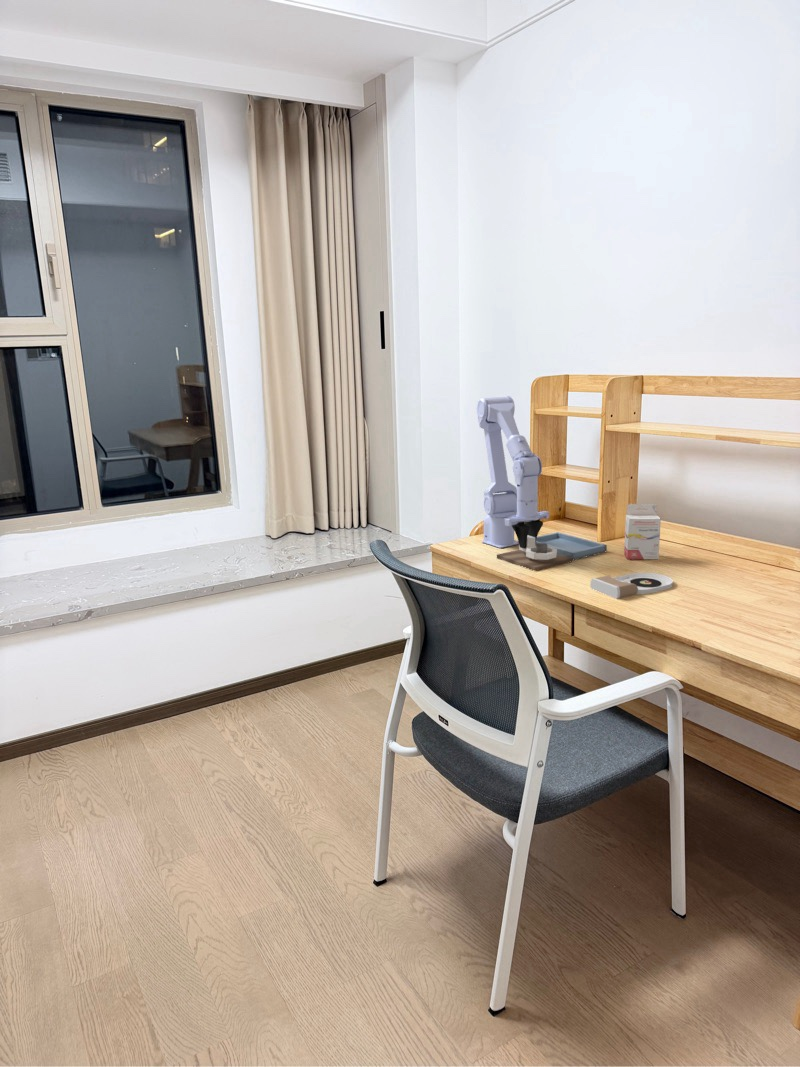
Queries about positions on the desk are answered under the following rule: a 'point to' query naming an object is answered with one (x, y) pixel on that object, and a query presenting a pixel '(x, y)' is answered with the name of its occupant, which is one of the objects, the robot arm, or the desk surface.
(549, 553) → the ring
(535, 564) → the stake board
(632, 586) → the record player
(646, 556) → the ink cartridge box
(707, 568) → the desk surface
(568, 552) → the tray
